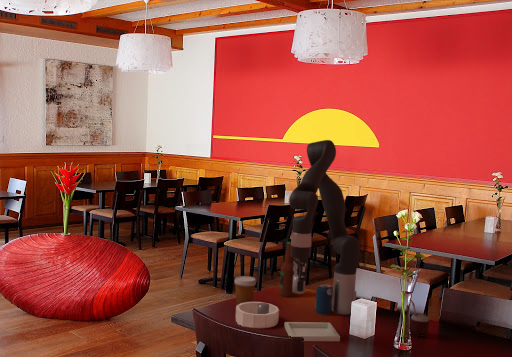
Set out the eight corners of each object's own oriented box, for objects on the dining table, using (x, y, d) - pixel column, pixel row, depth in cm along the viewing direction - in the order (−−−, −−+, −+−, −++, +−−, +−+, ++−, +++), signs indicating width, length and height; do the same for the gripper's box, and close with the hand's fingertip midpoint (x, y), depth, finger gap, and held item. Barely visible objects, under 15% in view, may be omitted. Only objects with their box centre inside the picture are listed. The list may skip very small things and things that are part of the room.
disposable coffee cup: (254, 310, 242) (256, 282, 241) (232, 308, 242) (233, 280, 241) (255, 303, 252) (256, 276, 251) (233, 302, 252) (235, 275, 251)
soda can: (334, 314, 241) (336, 287, 240) (319, 316, 239) (321, 287, 238) (326, 309, 248) (328, 282, 247) (312, 310, 245) (313, 283, 244)
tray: (329, 328, 225) (329, 322, 224) (339, 342, 210) (340, 336, 210) (284, 327, 222) (284, 322, 222) (291, 342, 208) (291, 336, 207)
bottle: (287, 292, 272) (290, 240, 269) (298, 296, 266) (301, 243, 264) (276, 294, 267) (279, 241, 265) (286, 298, 261) (290, 244, 259)
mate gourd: (430, 335, 223) (433, 297, 221) (423, 340, 216) (426, 302, 215) (411, 330, 227) (414, 293, 226) (404, 335, 220) (407, 297, 219)
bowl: (274, 315, 237) (274, 302, 236) (280, 329, 220) (281, 315, 220) (234, 314, 235) (234, 301, 234) (237, 328, 218) (238, 314, 218)
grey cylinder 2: (303, 290, 217) (303, 274, 217) (305, 293, 213) (306, 278, 212) (291, 290, 217) (292, 274, 216) (293, 293, 212) (294, 277, 212)
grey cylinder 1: (267, 317, 230) (268, 303, 230) (268, 321, 226) (269, 306, 225) (256, 317, 230) (257, 302, 229) (257, 321, 225) (258, 306, 225)
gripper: (315, 248, 207) (312, 294, 208) (306, 240, 221) (304, 284, 222) (295, 248, 206) (292, 294, 207) (287, 240, 220) (285, 283, 221)
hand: (298, 289), depth 215 cm, fingers closed on grey cylinder 2, 4 cm apart
